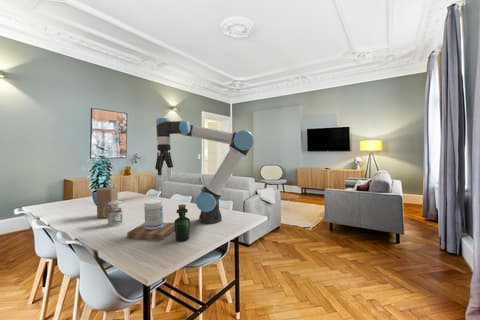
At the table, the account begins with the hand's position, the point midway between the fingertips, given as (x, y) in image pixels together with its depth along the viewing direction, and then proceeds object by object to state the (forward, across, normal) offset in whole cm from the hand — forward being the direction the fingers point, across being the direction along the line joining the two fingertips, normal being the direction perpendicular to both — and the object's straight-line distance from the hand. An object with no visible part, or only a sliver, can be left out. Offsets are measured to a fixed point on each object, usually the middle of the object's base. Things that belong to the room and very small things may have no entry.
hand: (165, 179), depth 130 cm
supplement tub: (+26, +9, -4) cm, 28 cm away
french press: (+28, -2, -35) cm, 45 cm away
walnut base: (+29, +10, -4) cm, 31 cm away
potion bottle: (+30, +18, +15) cm, 38 cm away
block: (+28, -20, -51) cm, 62 cm away
